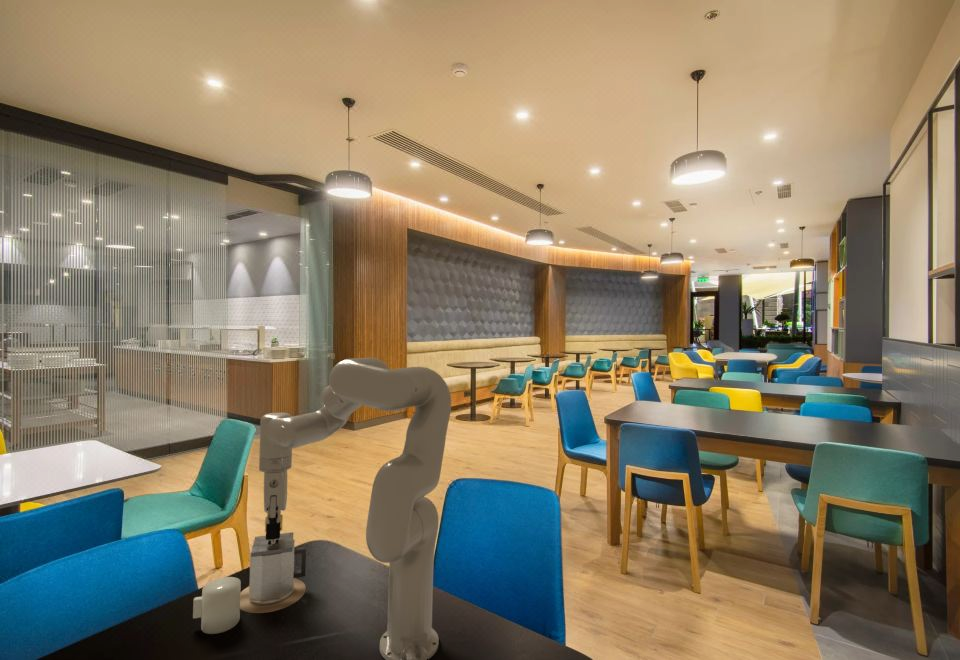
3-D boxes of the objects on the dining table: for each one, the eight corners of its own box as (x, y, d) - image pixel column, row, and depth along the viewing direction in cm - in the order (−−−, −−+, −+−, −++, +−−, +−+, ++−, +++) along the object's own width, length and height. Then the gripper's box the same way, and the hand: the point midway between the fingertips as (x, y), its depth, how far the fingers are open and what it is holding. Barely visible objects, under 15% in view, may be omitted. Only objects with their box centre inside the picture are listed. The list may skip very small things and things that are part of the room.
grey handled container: (304, 599, 114) (306, 546, 114) (246, 609, 109) (247, 554, 110) (304, 578, 124) (306, 529, 124) (251, 586, 119) (252, 536, 119)
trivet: (305, 608, 111) (305, 605, 111) (231, 621, 106) (231, 618, 106) (305, 575, 126) (305, 572, 126) (240, 585, 121) (240, 582, 121)
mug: (237, 632, 102) (238, 591, 102) (189, 641, 99) (190, 599, 99) (241, 612, 109) (242, 574, 109) (196, 620, 106) (198, 581, 106)
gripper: (290, 470, 110) (288, 547, 110) (292, 453, 126) (290, 520, 125) (255, 473, 107) (253, 552, 107) (262, 455, 123) (260, 523, 123)
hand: (273, 534), depth 116 cm, fingers closed on plunger, 4 cm apart
